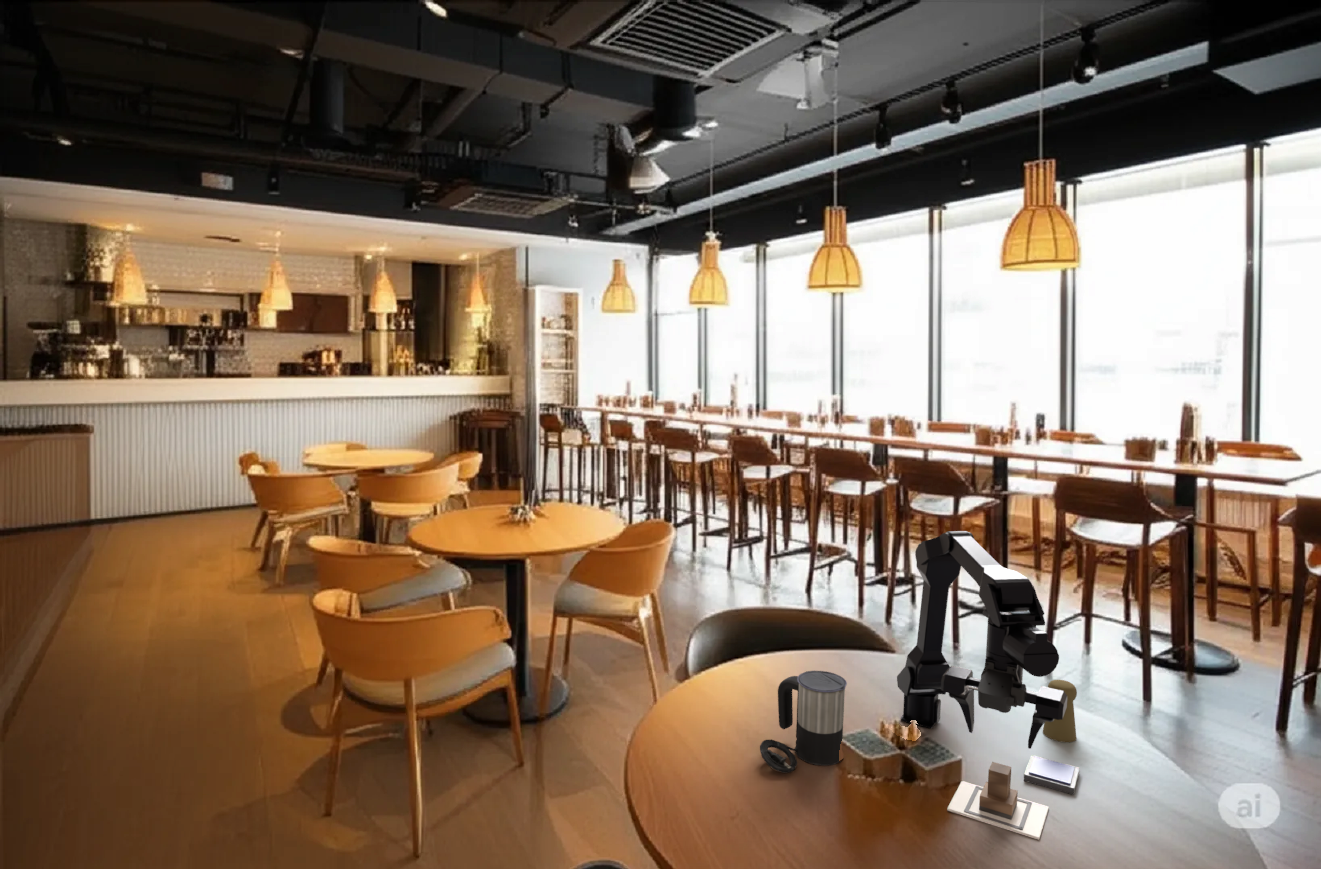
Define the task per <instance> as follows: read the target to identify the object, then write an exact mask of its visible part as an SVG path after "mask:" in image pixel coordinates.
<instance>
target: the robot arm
mask: <svg viewBox="0 0 1321 869" xmlns="http://www.w3.org/2000/svg"><path fill="white" fill-rule="evenodd" d="M914 553H915V561H916V568H917V570H918V572H919V574H920V576H921V578H922V580H923V582H922V583H923V584H922V592H921V600H920V601H921V602H920V610H919V618H918V619H919V620H918V622H919V623H918V630H917V631H918V632H917V639H916V645H915V646H914V647H913V649H912V650H911V651H910V652H909V653H908V654H907V656H906V662H905V665H904V667H903V669H901V671H900V672H899V673H898V675H897V676H896V682H897V684H896V685H897V688H898V689H899V690H900V691H901V692H902V693H903V711H902V712H903V713H902V715H901V716H900V721H902V722H904V723H908V722H910V721H911V720H916V721H917V723H918V724H919V725H921V727H924V728H928V729H933V728H934V726H935V725H936V724H937V723H938V722H939V721H940V720H941V710H942V709H941V707H942V706H941V705H942V700H941V699H940V698H939V695H946V694H947V693H948V697H950V698H952V699H954V700H955V701H956V702H957V703H958V704H959V706H960V709H961V711H962V713H963V717H964V720H965V724H966V726H967V729H968V732H969V734H970V733H971V734H972V733H973V732H974V728H975V726H974V725H975V691H977V696H978V697H977V699H978V701H977V702H978V705H979V706H980V707H981V708H983V709H990V710H995V711H998V712H1000V713H1003V714H1004V713H1005V714H1006V713H1010V711H1011V709H1012V707H1013V708H1017V707H1018V706H1019V707H1021V708H1022V707H1025V703H1029V704H1032V705H1035V708H1034V711H1033V714H1032V720H1031V726H1030V730H1029V731H1030V732H1029V735H1028V741H1027V743H1028V744H1027V748H1028V749H1030V750H1031V749H1032V747H1033V745H1034V742H1035V741H1036V738H1037V735H1038V734H1039V732H1040V730H1041V729H1042V727H1043V726H1044V723H1045V722H1046V721H1048V722H1053V721H1054V719H1057V720H1062V719H1063V716H1064V714H1065V711H1066V708H1067V695H1066V693H1065V692H1064V691H1062V690H1057V689H1053V688H1048V686H1044V685H1040V687H1039V690H1038V692H1036V691H1032V690H1029V689H1027V685H1026V684H1025V683H1023V677H1024V676H1023V674H1024V671H1026V672H1027V673H1028V674H1029V675H1031V676H1033V677H1036V678H1037V677H1038V678H1042V677H1046V676H1048V675H1050V674H1051V673H1052V672H1054V671H1055V669H1056V668H1057V666H1058V664H1059V660H1060V654H1059V652H1058V649H1057V648H1056V646H1055V645H1054V644H1053V643H1052V642H1051V641H1049V640H1048V636H1049V634H1048V632H1045V631H1044V630H1041V629H1039V628H1038V627H1037V626H1040V627H1041V626H1045V625H1046V621H1045V617H1044V615H1045V612H1044V610H1043V607H1042V604H1041V603H1040V600H1039V597H1038V595H1037V592H1036V588H1035V586H1034V585H1033V583H1032V581H1030V579H1029V578H1028V577H1026V576H1025V575H1023V574H1022V573H1020V572H1019V571H1017V570H1013V569H1011V568H1006V567H1004V566H1002V565H1001V564H1000V563H999V562H998V561H997V560H995V558H993V556H992V555H991V554H990V553H988V552H987V550H985V549H984V548H983V547H982V546H981V544H979V543H978V542H977V540H975V538H974V534H973V533H972V532H968V531H967V530H957V531H956V530H954V531H946V532H942V533H941V534H940V535H938V536H937V537H933V538H930V539H928V540H923V541H922V542H920V543H918V545H917V547H916V548H915V552H914ZM961 568H962V569H964V571H965V572H966V573H967V574H968V575H969V576H970V577H971V578H972V579H973V580H974V581H975V582H976V583H977V585H978V587H979V591H978V592H979V593H978V597H979V598H980V600H981V601H982V603H983V605H984V607H985V609H984V610H983V611H982V615H983V616H985V617H986V618H987V627H986V628H987V630H986V647H985V662H984V667H983V670H982V672H981V675H980V678H976V677H974V676H973V674H974V673H973V670H972V669H969V668H966V667H965V668H964V667H960V666H956V665H951V666H950V664H949V663H948V661H947V660H946V658H945V656H944V655H943V653H942V652H943V644H944V635H945V634H944V633H945V627H946V618H947V609H948V608H947V607H948V600H949V599H948V598H949V591H950V587H951V585H952V584H953V583H954V582H955V581H956V579H957V578H958V577H959V576H960V574H961ZM1021 612H1029V613H1021ZM1012 613H1015V614H1012ZM1017 613H1018V614H1017ZM919 725H918V726H919Z"/></svg>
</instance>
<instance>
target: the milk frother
mask: <svg viewBox="0 0 1321 869" xmlns="http://www.w3.org/2000/svg"><path fill="white" fill-rule="evenodd" d="M847 685H848V682H847V680H846V679H845V678H844V677H842V676H841V675H839V674H836V673H834V672H830V671H824V670H808V671H804V672H802V673H799V674H798V675H792V676H788V677H787V678H785V679H783V680H782V681H781V682H780V683H779V685H778V686H777V706H778V708H777V710H778V726H779V727H780V728H781V729H782V730H786V729H789V728H790V727H792V725H793V724H794V723H793V721H794V720H793V719H794V718H793V715H794V714H793V690H794V691H797V701H796V702H797V703H796V727H795V728H796V729H795V737H796V741H795V747H794V748H793V747H791V746H788V745H787V744H785V743H783V742H780V741H778V740H775V739H765V740H763V741H761V743H760V745H759V751H760V755H761V757H762V759H763V761H764V762H765V763H766V765H767V766H768V767H770V769H772V770H774V771H776V772H780V773H784V774H785V773H786V774H787V773H791V772H793V771H794V770H795V769H796V768H797V766H798V761H797V758H796V756H797V757H798V758H799V759H800V760H802V761H803V762H806V763H809V764H811V765H815V766H824V767H825V766H833V765H836V764H839V763H840V762H839V750H840V744H841V741H842V739H843V738H844V717H845V716H844V714H845V713H844V712H845V695H846V694H845V691H846V687H847ZM843 740H844V739H843ZM769 748H773V749H776V750H780V751H781V752H782V753H784V754H785V755H786V756H784V757H783V756H782V755H780V754H779V753H776V752H774V751H772V750H770V749H769ZM792 751H793V752H794V753H795V754H796V756H795V755H794V753H793V752H792ZM787 758H788V759H789V762H790V764H788V763H787V762H786V760H787Z"/></svg>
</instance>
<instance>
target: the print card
mask: <svg viewBox="0 0 1321 869" xmlns="http://www.w3.org/2000/svg"><path fill="white" fill-rule="evenodd" d="M983 787H984V786H980V785H977V784H974V783H970V782H968V781H964V780H962V781H960V783H959V785H958V788H957V790H956V791H955V792H954V795H953V797H952V798H951V801H950V803H949V805H948V806H947V812H951V813H953V814H957V815H962V816H964V817H967V818H970V819H973V820H975V821H979V822H982V823H986V824H988V825H992V826H994V827H998V828H1001V829H1003V830H1007V831H1011V832H1013V833H1016V834H1020V835H1023V836H1026V837H1029V838H1032V839H1035V840H1038V841H1039V840H1040V838H1041V834H1042V831H1043V828H1044V826H1045V823H1046V818H1047V816H1048V813H1049V807H1050V806H1049V805H1048V806H1047V805H1044V804H1041V803H1037V802H1034V801H1031V800H1028V799H1024V798H1020V797H1018V796H1017V806H1016V809H1015V812H1014V814H1013V817H1012V820H1009V819H1006V818H1003V817H1000V816H997V815H993V814H990V813H987V812H984V811H981V810H979V802H980V794H981V792H982V790H983Z"/></svg>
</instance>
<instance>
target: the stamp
mask: <svg viewBox="0 0 1321 869" xmlns="http://www.w3.org/2000/svg"><path fill="white" fill-rule="evenodd" d="M987 778H988V779H987V781H985V783H984V785H983V786H982V787H983V790H982V792H981V794H980V802H979V810H981V811H984V812H987V813H990V814H993V815H997V816H1000V817H1003V818H1006V819H1009V820H1012V817H1013V814H1014V812H1015V809H1016V806H1017V797H1018V793H1019V792H1018V791H1019V790H1016V789H1013V788H1011V783H1012V782H1011V780H1012V766H1009V765H1005V764H1002V763H1000V762H999V763H998V762H995V761H992V762H991V764H990V766H989V768H988V775H987Z"/></svg>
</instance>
